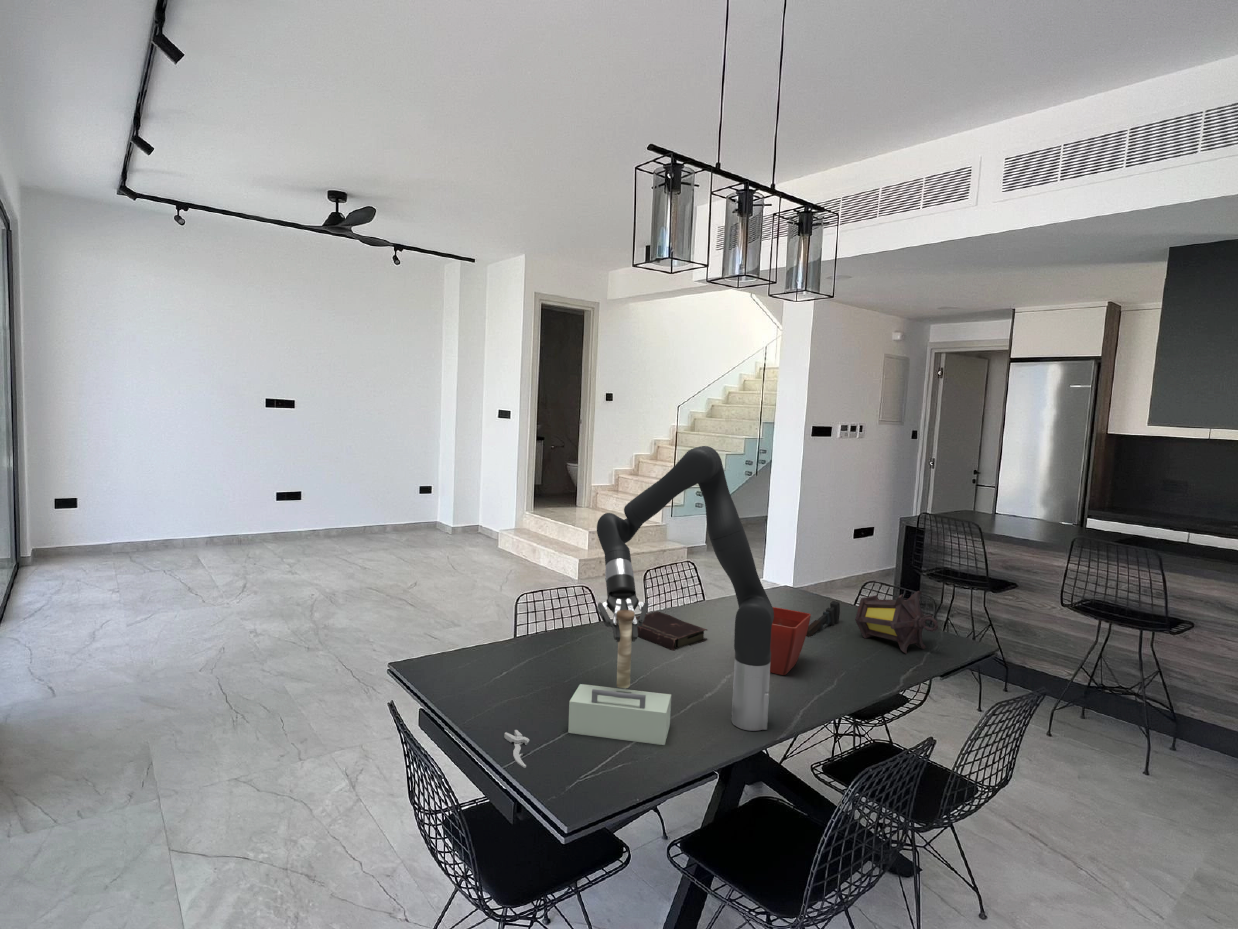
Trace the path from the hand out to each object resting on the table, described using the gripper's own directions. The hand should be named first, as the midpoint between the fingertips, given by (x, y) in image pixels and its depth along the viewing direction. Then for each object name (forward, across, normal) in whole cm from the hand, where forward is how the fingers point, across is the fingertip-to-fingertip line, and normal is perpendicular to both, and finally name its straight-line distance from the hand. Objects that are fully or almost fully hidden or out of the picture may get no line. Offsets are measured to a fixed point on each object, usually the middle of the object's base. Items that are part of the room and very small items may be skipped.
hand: (626, 640), depth 172 cm
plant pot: (-12, +56, +47) cm, 74 cm away
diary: (-33, +27, +68) cm, 81 cm away
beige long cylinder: (+7, 0, +10) cm, 13 cm away
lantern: (-23, +110, +59) cm, 126 cm away
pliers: (+21, -25, +13) cm, 35 cm away
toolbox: (+17, -1, +17) cm, 24 cm away
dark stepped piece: (-36, +89, +72) cm, 120 cm away
